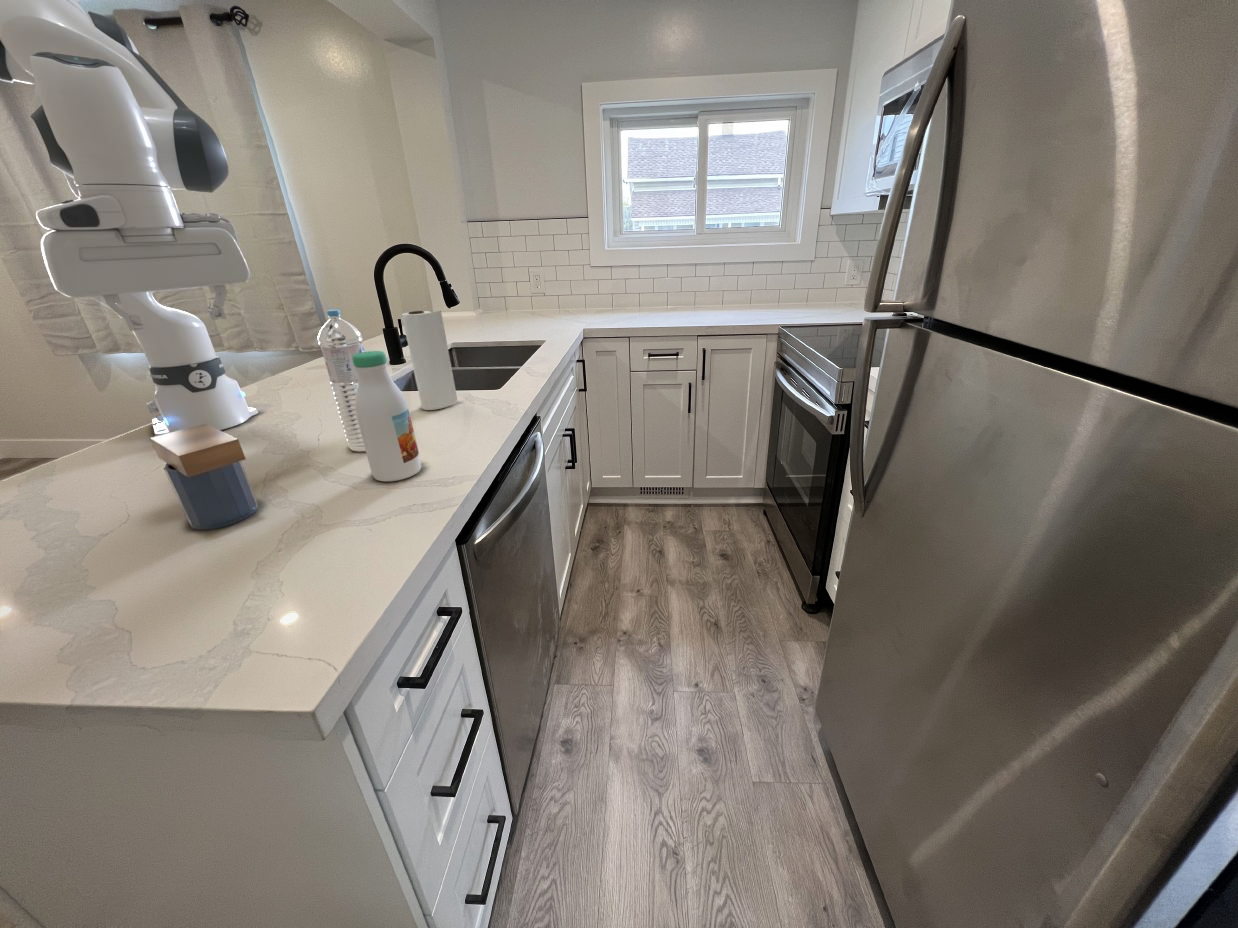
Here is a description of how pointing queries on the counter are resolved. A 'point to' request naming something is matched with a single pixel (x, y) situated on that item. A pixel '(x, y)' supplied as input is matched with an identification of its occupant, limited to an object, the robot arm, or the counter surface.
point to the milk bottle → (384, 420)
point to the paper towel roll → (430, 358)
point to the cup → (214, 496)
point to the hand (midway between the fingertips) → (179, 324)
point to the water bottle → (343, 371)
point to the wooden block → (197, 449)
